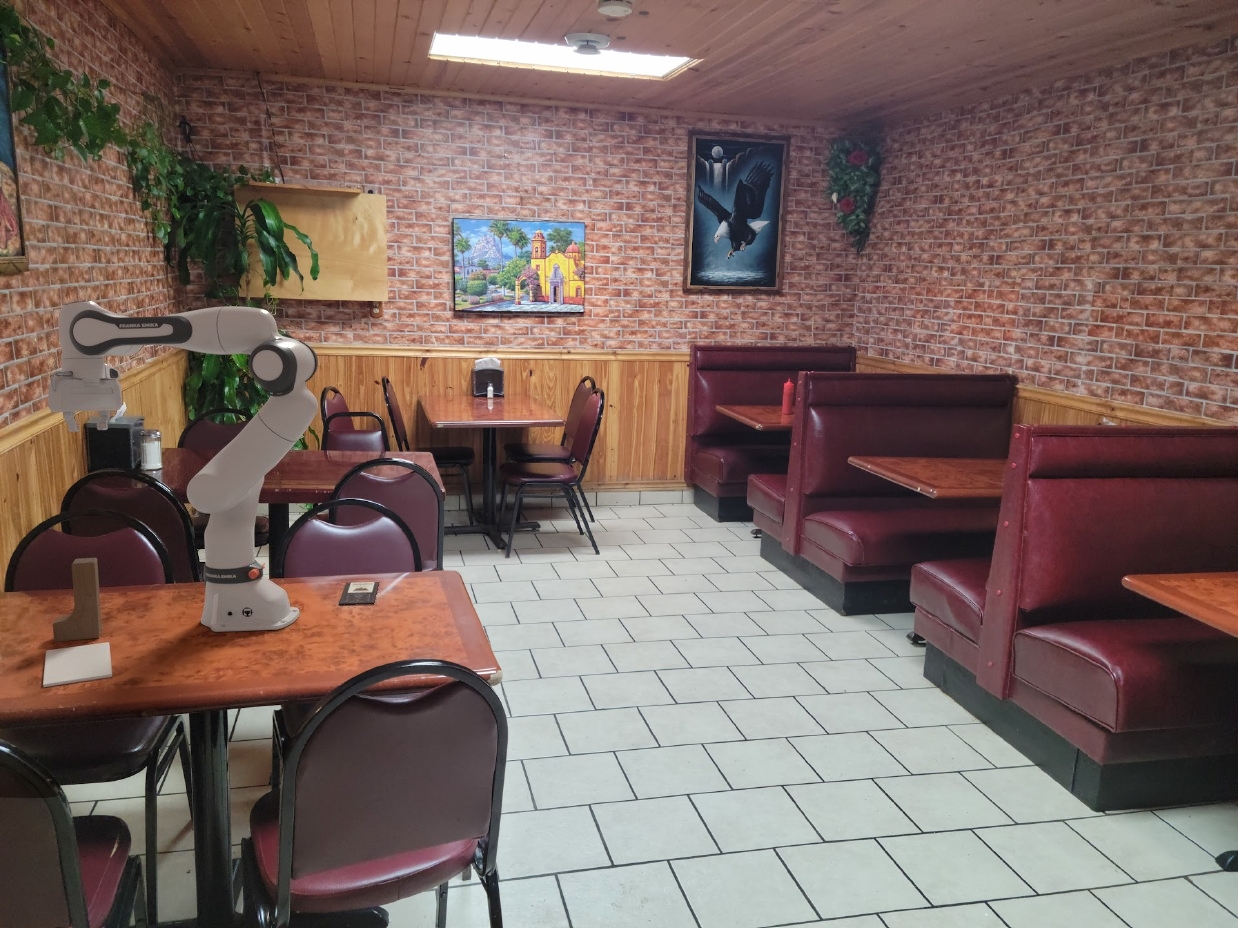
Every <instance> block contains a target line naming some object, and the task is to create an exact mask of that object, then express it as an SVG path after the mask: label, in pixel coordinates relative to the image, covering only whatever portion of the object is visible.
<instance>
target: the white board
mask: <svg viewBox="0 0 1238 928" xmlns="http://www.w3.org/2000/svg"><path fill="white" fill-rule="evenodd" d="M110 646H111V645H110V642H108V641H107V642H101V643H94V644H87V645H86V644H85V645H79V646H78V645H77V646H72V647H64V648H57V649H48V650H46V651H45V662H44V671H43V684H42V686H43V688H46V687H47V688H48V687H55V686H60V685H67V684H74V683H78V682H86V681H94V680H99V679H107V678H111V677H113V670H112V669H113V668H112V660H111V659H112V658H111V657H112V656H111V648H110Z"/></svg>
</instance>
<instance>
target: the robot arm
mask: <svg viewBox="0 0 1238 928" xmlns="http://www.w3.org/2000/svg"><path fill="white" fill-rule="evenodd" d="M275 319H276V318H274V316H273V314H272V313H270V312H269V311H268V310H266V309H263V308H257V307H250V306H232V305H229V306H214V307H208V308H207V307H206V308H200V309H195V310H191V311H190V310H189V311H185V312H184V311H183V312H178V313H173V314H168V315H160V316H159V315H158V316H156V315H155V316H127V315H123V314H119V313H116V312H113V311H112V310H111V311H110V310H108V309H106V308H103V307H102V306H100V305H99V304H98V303H96V302H94V301H90V300H81V301H78V300H77V301H71V302H68V303H66V304H64V305H63V306H61V308H60V310H59V314H58V340H59V344H60V346H61V354H60V355H61V356H60V363H61V364H60V366H61V370H60V371H59V370H56V371H54V373H52V375H51V376H50V378H49V381H50V382H49V384H48V393H47V394H48V396H47V401H48V402H47V403H48V409H49V410H50V412H51V413H62V418H63V420H64V421H65V423H66V425H67V431H68V432H69V433H75V432H76V433H77V432H80V430H81V429H80V423H77V421H76V419H75V417H76V412H96V411H98V412H97V413H98V416H100V417H99V420H98V422H96V429H97V430H98V431H106V430H108V428H109V427H108V422H109V421H110V420H109V419H110V417H111V411H119V410H121V408H122V405H123V396H122V395H123V394H122V386H121V383H120V381H119V380H120V379H121V372H120V370H119V369H116V368H114V367H112V366H110V365H109V364H108V363H105V361H106V360H105V356H111V357H129V356H133V355H135V354H137V353H139V352H140V351H141V350H142V349H143V347H144V346H153V345H154V346H155V345H156V346H165V347H166V346H168V347H173V348H178V349H182V350H187V351H192V352H195V353H196V352H197V353H203V354H208V355H209V354H211V355H223V356H224V355H241V354H243V355H249V358H248V363H247V364H248V370H249V372H250V375H251V376H252V378H253V380H254V381H255V382H256V383H257V384H258V385H259V386H260V387H261V390H262V391H263V393H264V394H266V395H267V396H269V397H268V400H267V401H266V402H265V403H264V405H263V406H262V407H261V408H260V409H259V410H258V411H257V413H256V414H255V415H254V416H253V417H252V418H251V420H250V421H249V422H248V423H247V424H246V425H245V426H244V428H243V429H242V430H241V431H240V432H239V433H237V435H236V436H235V437H234V438H233V439H232V440H231V441H230V442H229V443H228V444H227V445H225V446H224V447H223V448H222V449H221V450H220V451H219V452H217V453H216V455H215V456H214V457H212V459H210V461H208V463H206V464H205V466H203V468H202V469H201V470H199V472H197V473H196V474H195V475H194V476H193V477H192V478H191V480H190V481H189V482H188V484H187V487H186V496H187V500H188V502H189V503H190V505H191V506H192V507H193V509H195V510H197V511H198V512H200V513H203V514H209V515H210V516H209V519H208V523H207V525H206V528H205V530H204V557H205V559H204V561H205V563H204V564H203V581H204V587H205V594H204V595H205V596H204V603H203V605H204V606H203V609H202V615H201V618H200V623H201V624H202V625H204V626H205V627H208V628H209V629H210V630H211V631H212V632H217V633H218V632H219V633H220V632H243V631H245V632H246V631H247V632H248V631H267V630H268V631H269V630H270V631H271V630H275V631H276V630H281V629H284V628H286V627H288V626H290V625H291V624H293V623H294V622H296V620H298V618H299V617H300V609H299V608H298V607H295V606H291V604H290V599H289V596H288V592H287V591H286V590H285V589H284V588H282V587H281V586H279V585H278V584H276V583H275V582H273V581H272V580H270V579H269V578H268V577H265V576H264V569H265V568H266V566H265V565H266V563H263V564H260V563H259V562H258V561H257V560H256V557H255V553H256V552H255V550H256V549H255V525H256V517H257V513H258V507H259V500H260V494H261V491H262V488H263V485H264V482H265V476H266V475H267V473H269V472H270V471H271V470H272V469H274V468H275V467H276V466H277V465H278V464H279V463H280V461H281V460H282V459H283V458H284V457H285V456H286V454H287V453H289V451H290V450H291V449H292V447H294V446H295V444H296V443H297V442H298V441H299V439H300V438H301V437H302V436H303V435H304V434H305V432H306V431H307V430H308V428H309V426H310V425H311V424H312V422H313V420H315V417H316V415H317V413H318V410H319V402H318V399H317V397H316V396H315V395H314V393H313V392H311V390H309V388H308V387H307V384H306V383H307V382H308V381H310V380H311V379H312V378H313V377H314V376H315V375H316V372H317V371H318V367H319V358H318V356H317V353H316V351H315V350H314V349H313V348H312V347H311V346H310V345H309V344H307V343H306V342H304V341H302V340H300V339H298V338H295V337H294V336H292V335H290V334H288V333H283V334H280V333H279V331H278V325H277V321H276V320H275Z"/></svg>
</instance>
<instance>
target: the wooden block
mask: <svg viewBox="0 0 1238 928" xmlns="http://www.w3.org/2000/svg"><path fill="white" fill-rule="evenodd" d="M98 565H99V564H98V558H97V557H84V558H83V557H82V558H75V559H74V560H73V562H72V563H71V573H72V574H71V575H72V586H73V587H72V589H73V590H72V592H73V602H74V606H73V607H74V608H73V611H71V612H70V613H69V614H66V615H62V616H57V617H56V618H55V619H54V621H53V624H52V633H53V642H55V643H57V642H58V643H59V642H60V641H61V642H71V641H79V640H80V641H81V640H93V639H99V638H100V636H101V634H102V632H103V628H102V627H103V626H102V612H101V599H100V598H101V596H100V583H99V581H100V580H99V567H98Z"/></svg>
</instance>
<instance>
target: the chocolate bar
mask: <svg viewBox="0 0 1238 928" xmlns="http://www.w3.org/2000/svg"><path fill="white" fill-rule="evenodd" d="M379 583H380V581H369V582H365V581H364V582H346V583H345V585H344V588H343V590H342V593H341V596H340V599H339V601H338V606H339V605H340V606H357V605H356V604H374V603H375V604H376V601H375V600H377V597H376V595H378V592H377V591H379V588H380V584H381V583H380V584H379ZM378 587H379V588H378Z"/></svg>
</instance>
